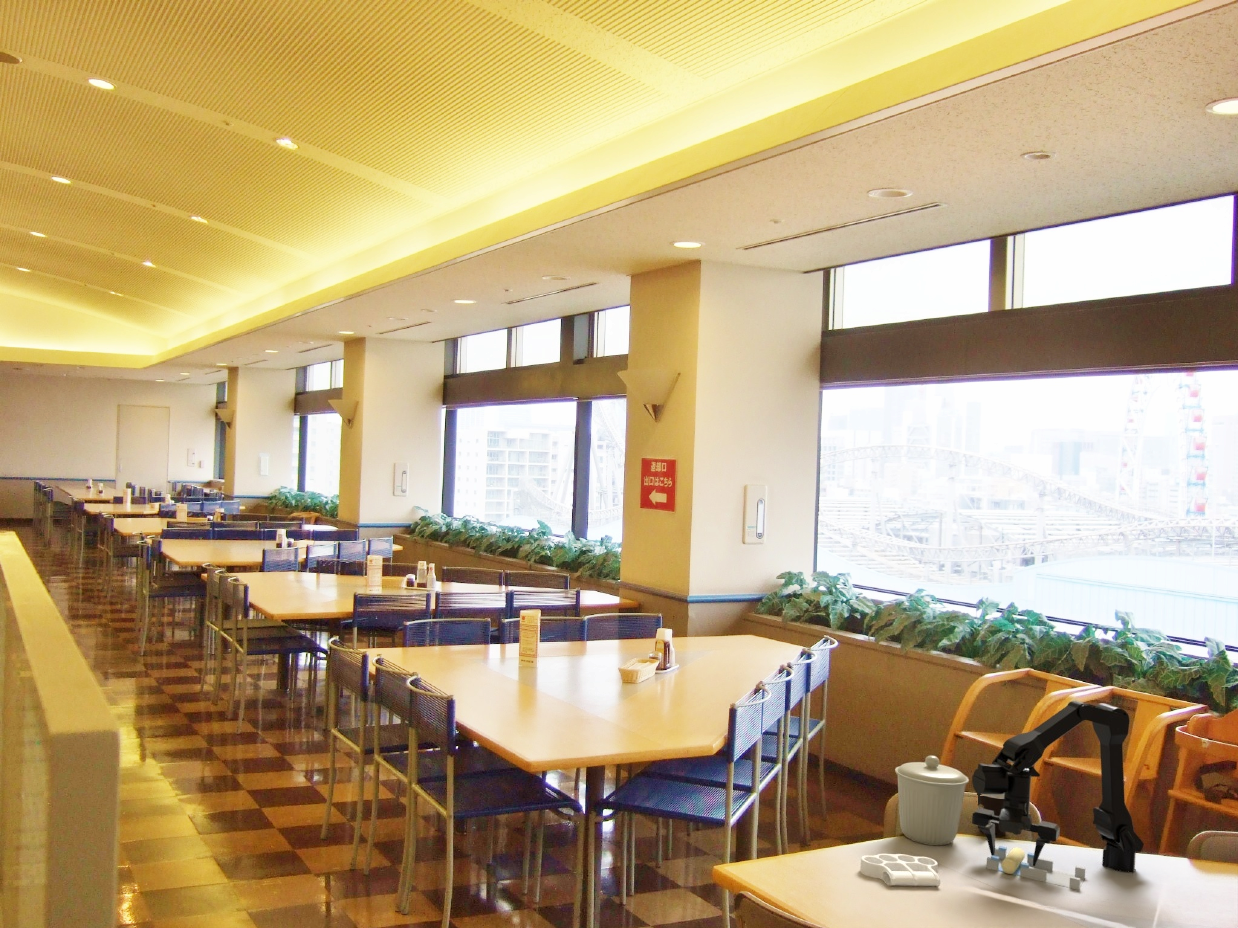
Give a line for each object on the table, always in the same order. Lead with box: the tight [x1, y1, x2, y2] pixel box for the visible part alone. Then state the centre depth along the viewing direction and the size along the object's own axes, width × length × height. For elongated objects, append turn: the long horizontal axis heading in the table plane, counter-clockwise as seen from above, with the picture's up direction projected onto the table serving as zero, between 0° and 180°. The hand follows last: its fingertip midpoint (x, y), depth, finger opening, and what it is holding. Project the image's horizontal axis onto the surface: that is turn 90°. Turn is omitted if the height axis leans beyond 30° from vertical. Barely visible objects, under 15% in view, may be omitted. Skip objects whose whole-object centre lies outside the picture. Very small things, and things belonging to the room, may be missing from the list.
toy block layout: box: [985, 845, 1086, 891], centre depth 241 cm, size 20×10×4 cm, turn 59°
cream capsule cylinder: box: [1001, 847, 1026, 875], centre depth 243 cm, size 13×3×3 cm, turn 149°
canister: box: [894, 755, 970, 846], centre depth 265 cm, size 18×18×21 cm
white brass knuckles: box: [859, 853, 941, 887], centre depth 236 cm, size 3×18×15 cm
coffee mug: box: [976, 792, 1007, 837], centre depth 276 cm, size 12×9×10 cm
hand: (1013, 860), depth 244 cm, fingers open, 9 cm apart
